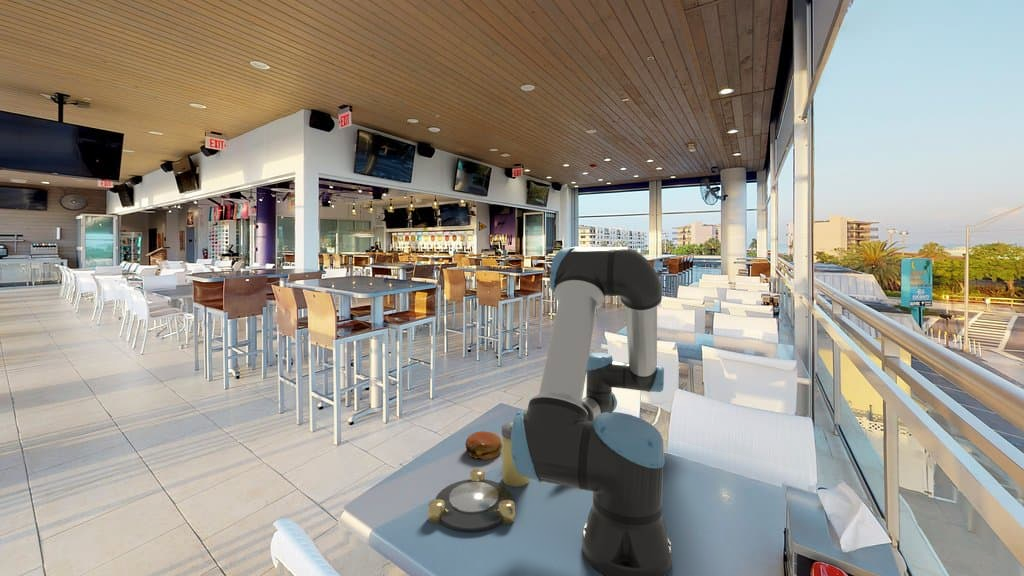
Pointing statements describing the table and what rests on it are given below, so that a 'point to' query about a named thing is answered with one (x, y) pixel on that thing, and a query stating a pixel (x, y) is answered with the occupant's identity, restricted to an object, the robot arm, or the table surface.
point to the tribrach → (473, 504)
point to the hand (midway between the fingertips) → (536, 439)
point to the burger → (483, 445)
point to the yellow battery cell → (510, 460)
